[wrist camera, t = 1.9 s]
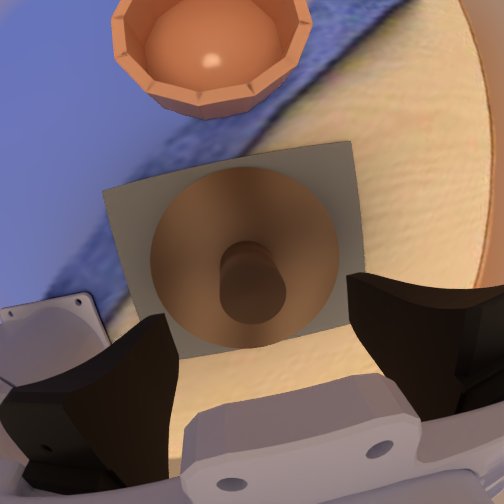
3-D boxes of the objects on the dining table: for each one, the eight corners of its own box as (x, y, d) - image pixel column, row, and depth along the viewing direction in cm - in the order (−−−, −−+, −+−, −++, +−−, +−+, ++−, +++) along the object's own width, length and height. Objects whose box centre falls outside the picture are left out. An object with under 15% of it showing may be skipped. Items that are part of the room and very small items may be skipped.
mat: (157, 358, 21) (156, 362, 20) (104, 190, 17) (101, 190, 17) (364, 315, 21) (366, 318, 21) (347, 141, 18) (350, 141, 17)
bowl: (149, 134, 17) (124, 125, 12) (132, 9, 14) (109, -28, 9) (301, 105, 17) (328, 87, 12) (272, -16, 14) (285, -58, 10)
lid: (181, 352, 20) (172, 402, 15) (134, 190, 17) (102, 201, 12) (340, 319, 21) (369, 360, 16) (320, 153, 17) (355, 150, 13)
